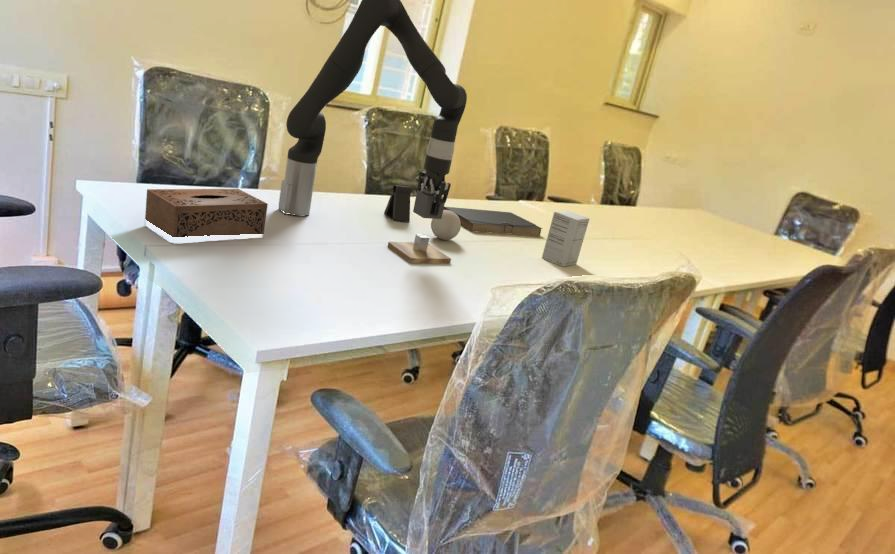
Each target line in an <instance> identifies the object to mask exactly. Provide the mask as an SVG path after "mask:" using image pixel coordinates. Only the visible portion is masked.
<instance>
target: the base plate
mask: <svg viewBox="0 0 895 554" xmlns="http://www.w3.org/2000/svg"><path fill="white" fill-rule="evenodd" d="M413 246H414V242H410V241H409V242H407V241H406V242H405V241H404V242H403V241H388V242H387V247H388V248H389V249H390V248H391V249H390V250H392V251H393V252H394V251H395V253H396V254H397V255H399V257H401V258H403V259H404V260H405V261H406V262H408V263H410V264H451V262H452V258H451V257H450V256H448V255H446V254H445V253H443V252H442V251H440V250H439V249H438V248H436V247H434V246H433V245H431V244H430V243H428V247H427V252H417V251H416V250H415V249H413Z"/></svg>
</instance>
